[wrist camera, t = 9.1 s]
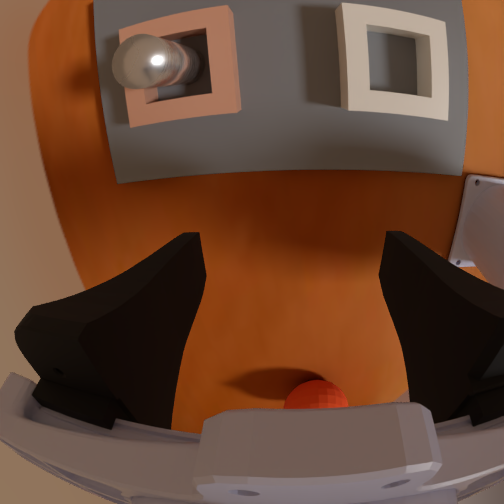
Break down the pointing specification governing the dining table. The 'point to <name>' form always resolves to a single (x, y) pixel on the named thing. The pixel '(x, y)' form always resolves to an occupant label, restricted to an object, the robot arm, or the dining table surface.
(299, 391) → the clementine
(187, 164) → the board
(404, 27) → the pin mount
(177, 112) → the socket
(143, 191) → the dining table surface
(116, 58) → the lock pin
